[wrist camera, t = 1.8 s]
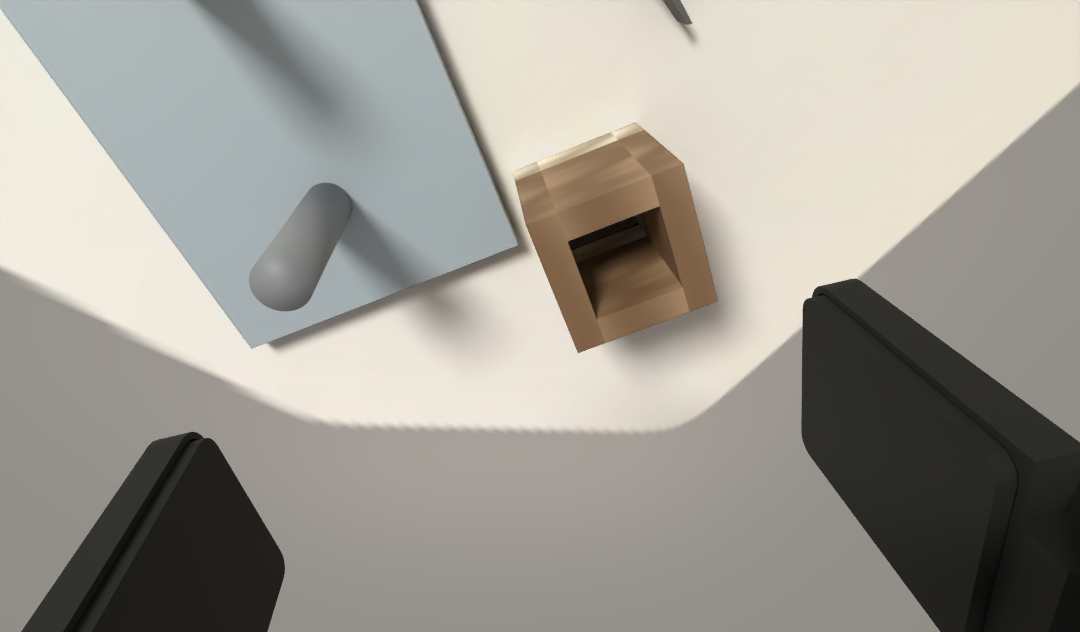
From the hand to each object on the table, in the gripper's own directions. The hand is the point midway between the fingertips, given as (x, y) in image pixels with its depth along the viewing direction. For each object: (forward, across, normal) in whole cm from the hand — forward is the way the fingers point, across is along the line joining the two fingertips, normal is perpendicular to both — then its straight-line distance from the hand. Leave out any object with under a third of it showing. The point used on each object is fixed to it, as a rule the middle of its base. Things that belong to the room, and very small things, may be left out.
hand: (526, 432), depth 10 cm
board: (+20, +8, -4) cm, 22 cm away
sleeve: (+20, -4, +4) cm, 21 cm away
